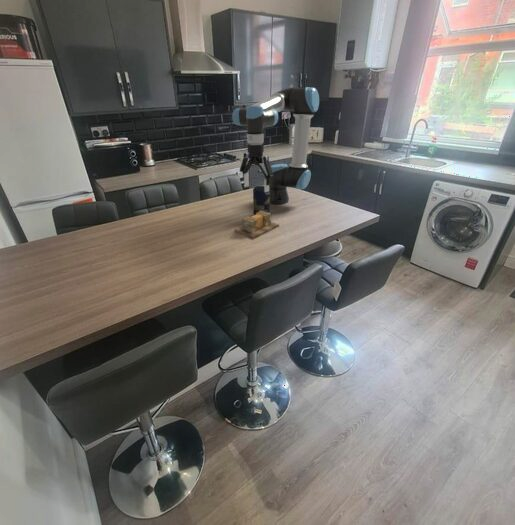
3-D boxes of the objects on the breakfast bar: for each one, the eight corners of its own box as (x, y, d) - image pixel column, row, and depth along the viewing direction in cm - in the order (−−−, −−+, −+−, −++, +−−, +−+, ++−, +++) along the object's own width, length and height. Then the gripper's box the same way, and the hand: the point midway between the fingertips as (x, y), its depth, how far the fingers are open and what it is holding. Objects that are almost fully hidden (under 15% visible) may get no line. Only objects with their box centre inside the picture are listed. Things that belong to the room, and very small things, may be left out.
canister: (260, 211, 177) (260, 182, 168) (273, 215, 172) (273, 185, 163) (250, 216, 171) (249, 186, 162) (262, 220, 166) (262, 189, 156)
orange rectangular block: (257, 224, 158) (257, 214, 155) (262, 226, 156) (262, 215, 153) (251, 227, 155) (250, 216, 152) (256, 229, 153) (256, 218, 150)
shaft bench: (259, 219, 166) (259, 207, 163) (278, 226, 158) (279, 213, 155) (234, 231, 154) (233, 218, 150) (253, 238, 146) (253, 225, 142)
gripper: (230, 142, 139) (233, 186, 150) (270, 147, 124) (270, 195, 135) (242, 139, 144) (243, 182, 155) (281, 145, 129) (280, 192, 140)
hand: (256, 189), depth 145 cm, fingers open, 13 cm apart
